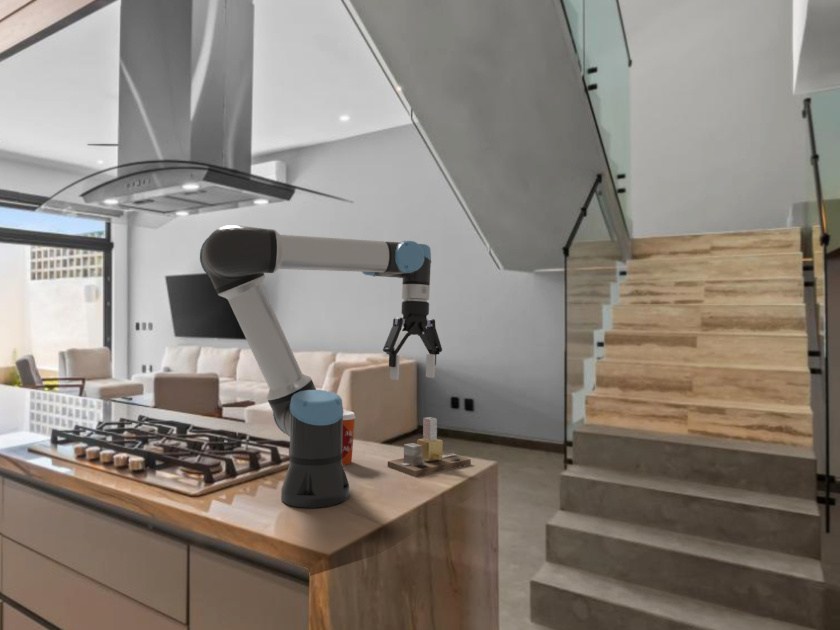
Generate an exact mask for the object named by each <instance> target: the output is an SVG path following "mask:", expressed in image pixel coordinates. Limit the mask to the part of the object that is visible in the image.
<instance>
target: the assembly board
mask: <svg viewBox="0 0 840 630" xmlns="http://www.w3.org/2000/svg"><path fill="white" fill-rule="evenodd" d="M448 455H451V456H448ZM471 462H472V461H471V458H469V459H468V457H465V456H461V455H458V454H455V453H450V452H447V451H444V450H443V452H442V459H440V462H438V459H437V460H432V461H426V460H423V457H422V446H421V445H418V444H417V443H414V442H411V443H406V444H405V443H404V444H403V458H402V457H401V458H398V459H391V460H387V468H389V469H393V470H395V471H398V472H401V473H404V474H406V475H409V476H411V477H414V478H416V477H420V476H425V475H429V474H430V475H431V474H434V473H438V472H443V471H447V470H452V469H451V468H453V469H456V468H455V467H457V468H460V467H459V466H462V467H465V466H464V465H466V466H469V465H468V464H471ZM471 465H472V464H471Z"/></svg>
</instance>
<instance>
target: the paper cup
mask: <svg viewBox="0 0 840 630" xmlns="http://www.w3.org/2000/svg"><path fill="white" fill-rule="evenodd" d="M356 418H357V417H356V414H355V412H353V411H349V410H343V427H342V464H343V466H348V465H351V464H352V460H353V449H354V448H353V445H354V433H355V419H356Z"/></svg>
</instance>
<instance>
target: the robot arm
mask: <svg viewBox="0 0 840 630" xmlns="http://www.w3.org/2000/svg"><path fill="white" fill-rule="evenodd" d="M199 262H200V265H201V268H202V270H203V271H204V272H205V273H206V275H207V276H208V277H209V278H210V281H211V283H212V285H213V287H214V290H215V291H216V294H217V295H218V297H222V298H224V299H226V300H227V301H228V303H229V305H230V307H231V309H232V312H233V314H234V316H235V318H236V320H237V322H238V324H239V327H240V329H241V331H242V333H243V335H244V338H245V340H246V341H247V344H248V346H249V348H250V349H251V353H252V354H253V356H254V359H255V361H256V363H257V365H258V367H259V370H260V372H261V374H262V376H263V378H264V380H265V382H266V384H267V386H268V389H269V390H268V392H267V396H266V399H267V402H268V404H269V406H270V408H271V410H272V413H273V414H272V416H273V420H274V423H275V424H276V427H277V428H278V429H279V431H281V432H283V434H285V435H287V436H288V437H289V464H288V469H287V471H286V475H285V477H284V480H283V482H282V485H281V491H280V492H281V493H280V499H281V502H282V503H283V504H285V505H288V506H292V507H295V508H296V507H297V508H307V509H308V508H309V509H312V508H313V509H314V508H325V507H331V506H335V505H338V504H341V503H343V502H345V501H346V500H348V499H349V497H350V484H349V481H348V478H347V474H346V472H345V468H344V465H343V464H342V427H343V411H344V406H343V399H342V397H341V396H340V395H339V394H337V392H334V391H327V390H322V389H317V388H316V386H315V384H314V382H313V379H312V377H311V376H309V375H306V374H304V373H303V372H302V370H301V368H300V366H299V364H298V361H297V359H296V357H295V355H294V352H293V350H292V348H291V346H290V343H289V342H288V340H287V338H286V335H285V332H284V330H283V328H282V326H281V324H280V321H279V319H278V317H277V315H276V313H275V311H274V309H273V306H272V304H271V301H270V299H269V298H268V296H267V293H266V291H265V288H264V284H263V283H264V281H265V278H266V275H265V274H275V273H276V272H277V271H278V270H303V271H327V272H328V271H330V272H331V271H334V272H359V273H362V274H364V275H365V276H371V277H383V278H384V277H386V278H398V279H402V283H401V284H402V289H401V299H402V300H403V301H402V302H401V313H400V314H401V315H403V316H402V317H394V318H393V319H392V327H391V329H390V331H389V334H388V336H387V338H386V341H385V344H384V345H383V347H382V348H383V349H382V351H383V352H384V353H385V354H386V355H388V367H389V368H390V369H389V379H390V380H392V381H393V380H394V381H400V380H399V379H400V357H401V355H400V354H398V353H399V352H400V350H401V349H402V347H403V346H404V344H405V343H406V342H407V339H408V338H409V337H410V336H414V335H416V336H418V337H419V338H420V340H421V342H422V343H423V345H424V346H425V348H426V351H427V354H426V357H425V359H426V361H425V362H426V363H425V378H429V379H435V374H436V371H435V370H436V368H435V367H436V365H437V355H440V353H442V351H443V347H442V345H441V341H440V338H439V334H438V332H437V328H436V319H434V318H427V316H429V313H430V303H429V302H428V301H429V300H430V288H431V287H430V285H431V266H432V265H431V264H432V253H431V247H430V246H429V245H428V244H425V243H418V242H416V241H413V240H403V241H400V242H398V241H383V240H367V239H352V238H339V237H337V238H336V237H322V236H307V235H305V236H304V235H293V234H292V235H291V234H280V233H279V232H278V231H277V229H273V228H271V229H270V228H262V227H261V228H260V227H254V226H245V225H237V224H229V225H224V226H221V227H218V228H217V229H215V230H214V231H213V232H211V234H209V236H208V237H207V238H206V239H205V240H204V242H203V243H202V245H201V248H200V252H199Z"/></svg>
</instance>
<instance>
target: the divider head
mask: <svg viewBox="0 0 840 630" xmlns="http://www.w3.org/2000/svg"><path fill="white" fill-rule="evenodd" d="M422 420H423V422H422V425H423V426H422V427H423V428H422V438H418V439H417V440H416V444H418V445H421V446H422V457H423V460H426V461H432V460H437V459H438V462H440V459H442V452H443V451H444V450H443V446H444V445H443V443H444V442H443V441H444V440H442V439H438V438H437V437H438V436H437V435H438V418H435V417H433V416H432V417H431V416H429V417H428V416H426V417H423V419H422Z"/></svg>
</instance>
